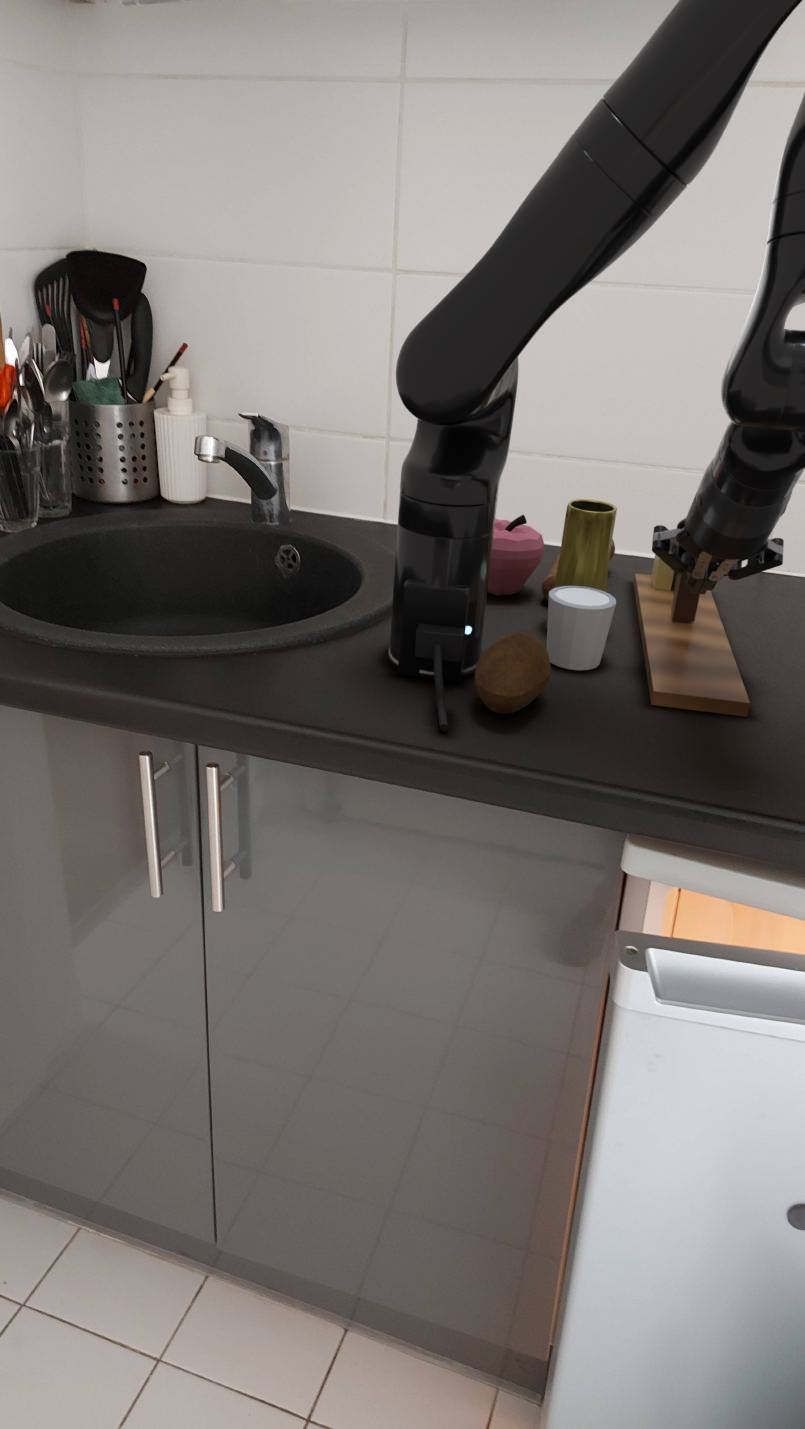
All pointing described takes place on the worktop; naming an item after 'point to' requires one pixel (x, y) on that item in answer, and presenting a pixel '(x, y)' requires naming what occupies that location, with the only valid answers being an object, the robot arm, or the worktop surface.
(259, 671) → the worktop surface
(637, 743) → the worktop surface
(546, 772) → the worktop surface
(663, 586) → the yellow slotted block
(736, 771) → the worktop surface
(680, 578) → the dark brown upright post
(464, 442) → the robot arm
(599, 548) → the vase
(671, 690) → the cutting board
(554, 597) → the white cup
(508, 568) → the apple
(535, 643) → the potato
